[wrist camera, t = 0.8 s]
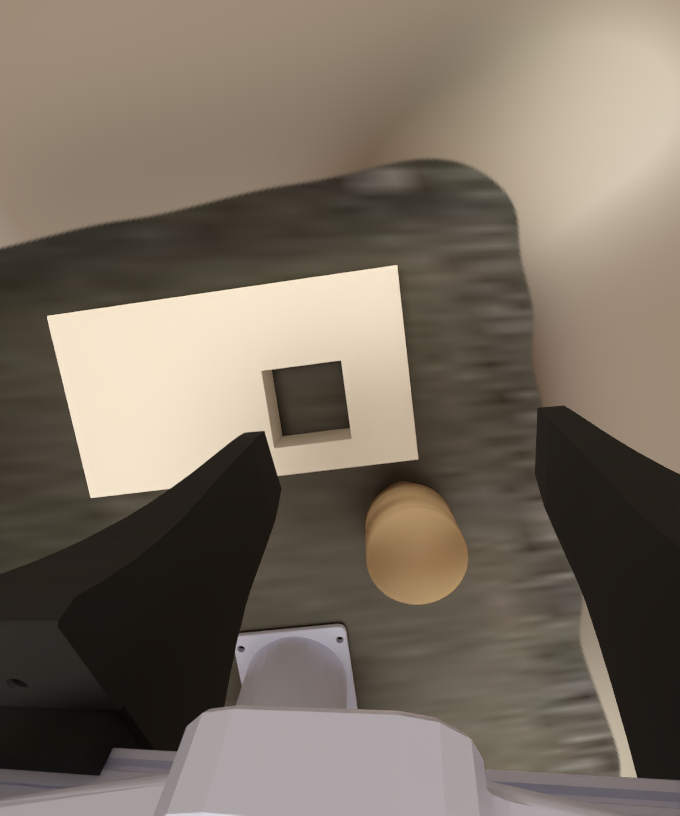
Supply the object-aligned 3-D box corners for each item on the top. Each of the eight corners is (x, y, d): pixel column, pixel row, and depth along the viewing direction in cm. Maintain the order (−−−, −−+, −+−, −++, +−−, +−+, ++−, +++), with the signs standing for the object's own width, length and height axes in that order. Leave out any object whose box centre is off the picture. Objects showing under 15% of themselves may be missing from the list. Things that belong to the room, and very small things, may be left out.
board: (412, 446, 30) (418, 459, 27) (116, 481, 31) (90, 497, 28) (393, 271, 28) (397, 265, 25) (78, 317, 29) (46, 316, 26)
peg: (447, 538, 31) (473, 600, 24) (369, 546, 31) (372, 610, 24) (440, 462, 30) (464, 504, 23) (359, 472, 30) (359, 516, 23)
